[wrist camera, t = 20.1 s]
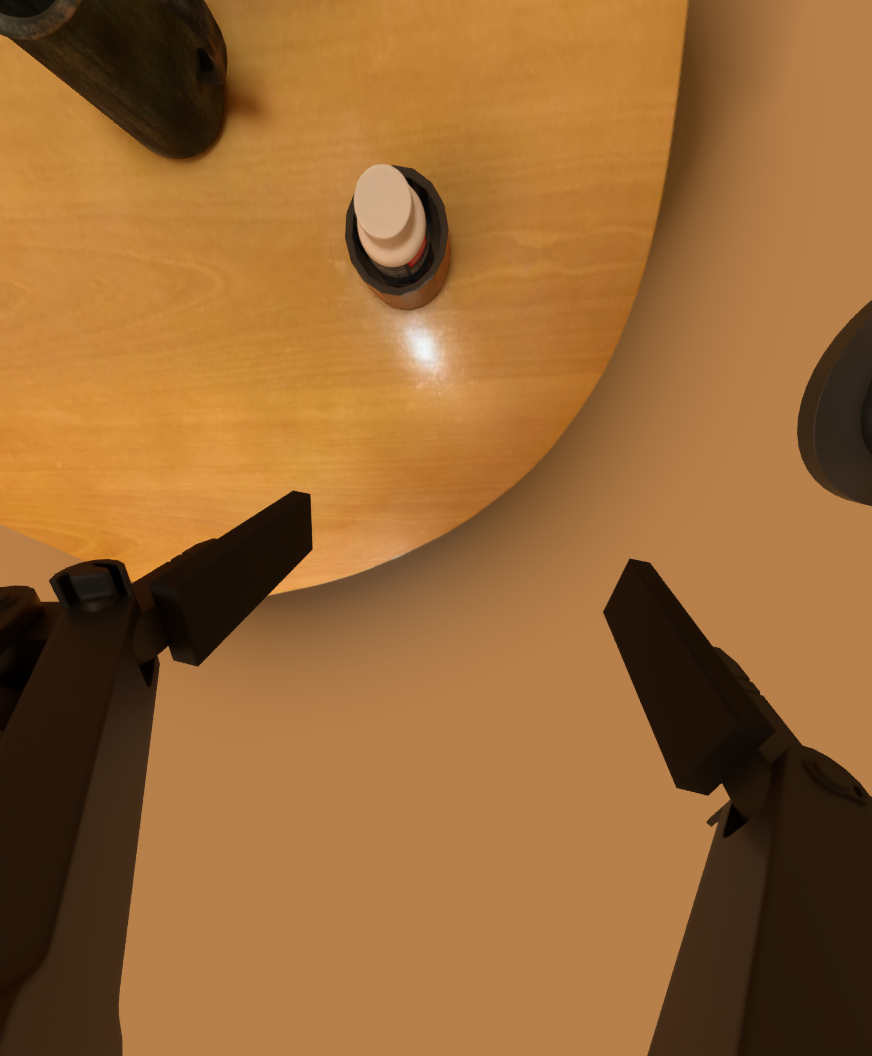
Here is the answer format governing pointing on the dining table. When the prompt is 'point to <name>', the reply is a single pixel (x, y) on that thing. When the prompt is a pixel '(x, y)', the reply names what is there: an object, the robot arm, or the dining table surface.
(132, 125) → the mug
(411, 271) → the pill bottle
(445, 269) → the dark grey round container
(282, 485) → the dining table surface
